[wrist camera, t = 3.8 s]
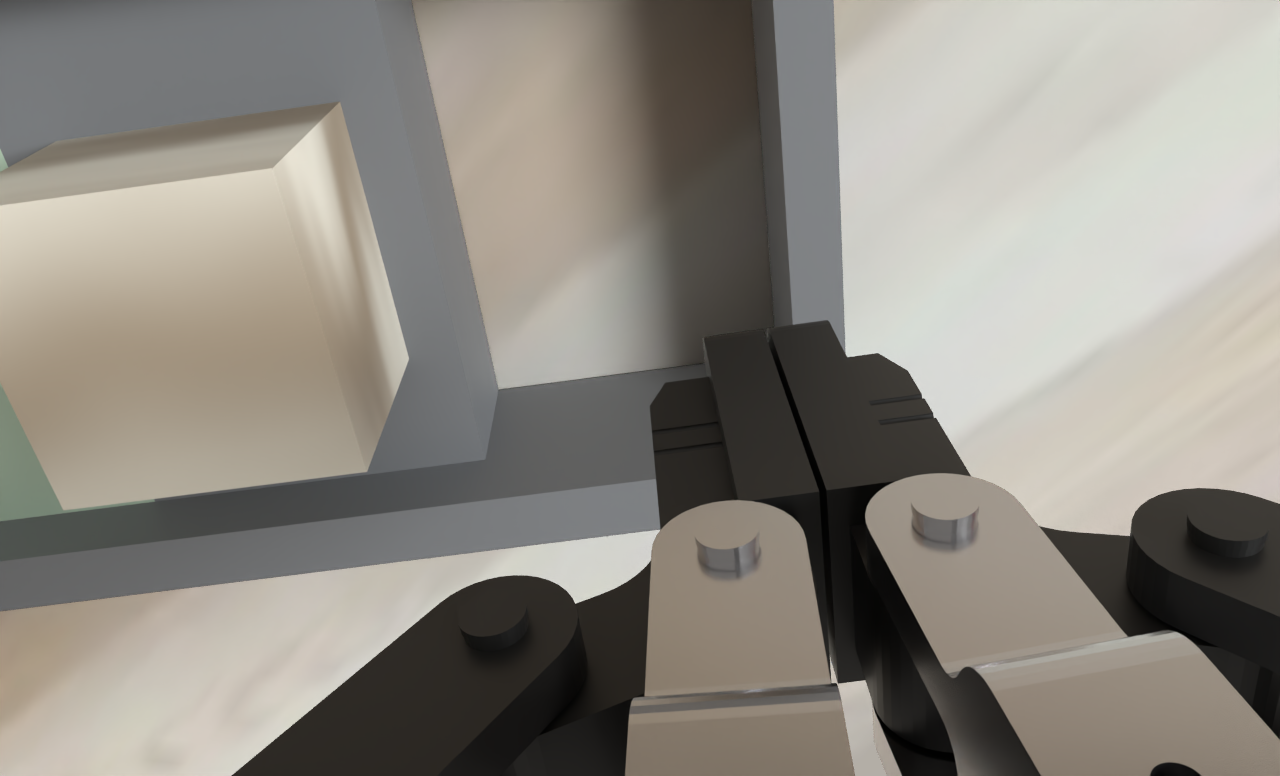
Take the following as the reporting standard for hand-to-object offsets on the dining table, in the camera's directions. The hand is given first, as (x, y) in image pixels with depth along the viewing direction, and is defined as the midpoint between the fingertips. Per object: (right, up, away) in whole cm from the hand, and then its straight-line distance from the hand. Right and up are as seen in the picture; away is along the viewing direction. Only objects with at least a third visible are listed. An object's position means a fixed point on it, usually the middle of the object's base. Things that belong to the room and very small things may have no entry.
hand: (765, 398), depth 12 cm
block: (-9, +3, +6) cm, 11 cm away
